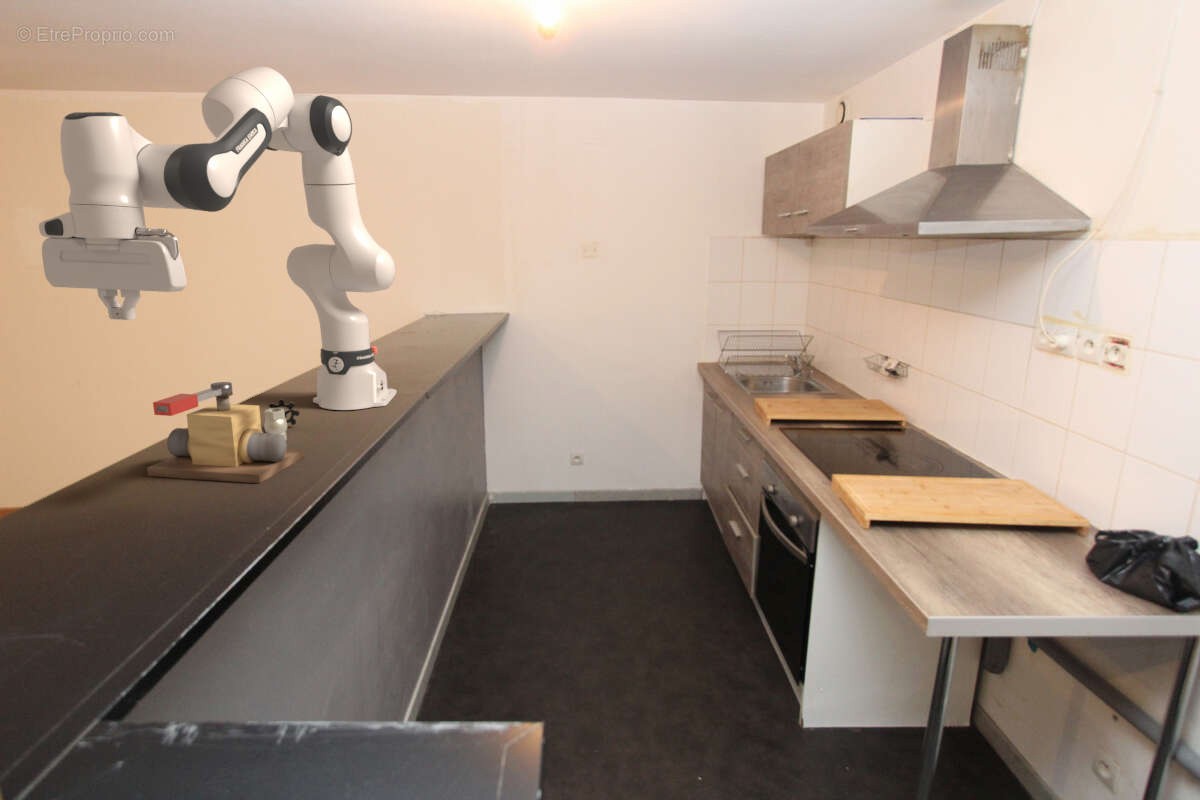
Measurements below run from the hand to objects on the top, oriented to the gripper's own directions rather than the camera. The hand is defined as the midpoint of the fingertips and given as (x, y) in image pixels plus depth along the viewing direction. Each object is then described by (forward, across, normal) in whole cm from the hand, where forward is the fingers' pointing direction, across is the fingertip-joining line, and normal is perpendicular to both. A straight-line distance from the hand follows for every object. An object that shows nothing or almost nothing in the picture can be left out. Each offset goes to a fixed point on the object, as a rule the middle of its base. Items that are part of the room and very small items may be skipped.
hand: (122, 319), depth 99 cm
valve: (+28, -5, -30) cm, 41 cm away
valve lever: (+14, -7, -5) cm, 17 cm away
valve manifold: (+27, -7, -11) cm, 30 cm away
